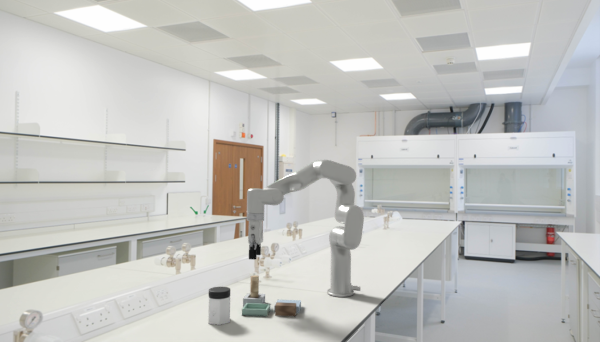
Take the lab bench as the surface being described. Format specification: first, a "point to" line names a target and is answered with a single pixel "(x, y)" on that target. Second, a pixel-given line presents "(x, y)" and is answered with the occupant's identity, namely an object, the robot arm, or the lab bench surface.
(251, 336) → the lab bench surface
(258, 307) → the tray
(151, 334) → the lab bench surface
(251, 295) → the dowel
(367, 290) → the lab bench surface
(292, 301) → the board
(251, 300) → the socket block
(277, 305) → the block
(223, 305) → the jar
